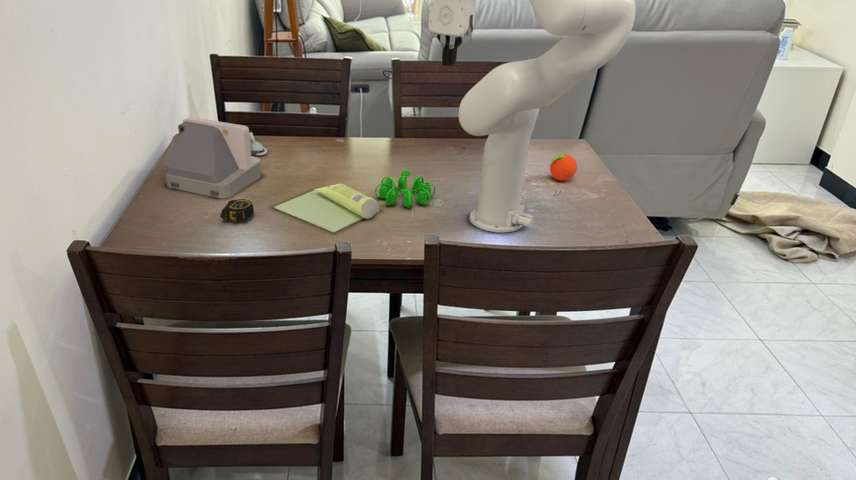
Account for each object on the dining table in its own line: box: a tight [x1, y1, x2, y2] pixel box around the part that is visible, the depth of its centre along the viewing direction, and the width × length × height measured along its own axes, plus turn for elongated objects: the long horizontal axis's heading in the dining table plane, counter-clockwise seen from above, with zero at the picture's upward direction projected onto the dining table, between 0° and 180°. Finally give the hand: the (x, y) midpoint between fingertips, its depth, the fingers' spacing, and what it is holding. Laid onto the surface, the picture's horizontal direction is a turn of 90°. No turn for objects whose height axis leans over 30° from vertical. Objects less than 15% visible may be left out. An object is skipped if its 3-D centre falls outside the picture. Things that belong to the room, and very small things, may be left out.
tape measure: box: [219, 198, 255, 222], centre depth 157 cm, size 7×7×4 cm
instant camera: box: [165, 116, 262, 199], centre depth 173 cm, size 21×21×15 cm
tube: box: [314, 183, 379, 220], centre depth 163 cm, size 6×5×20 cm
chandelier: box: [374, 170, 436, 209], centre depth 167 cm, size 15×15×7 cm
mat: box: [273, 189, 380, 233], centre depth 162 cm, size 20×16×1 cm
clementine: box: [549, 153, 578, 181], centre depth 178 cm, size 8×7×7 cm
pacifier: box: [249, 131, 268, 157], centre depth 194 cm, size 7×6×6 cm
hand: (448, 64), depth 159 cm, fingers closed
